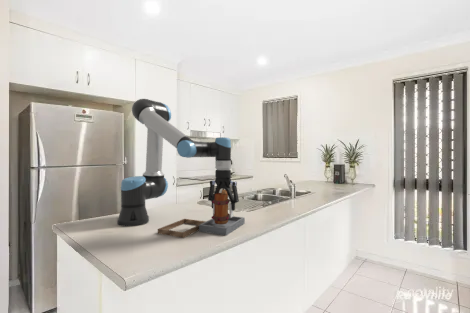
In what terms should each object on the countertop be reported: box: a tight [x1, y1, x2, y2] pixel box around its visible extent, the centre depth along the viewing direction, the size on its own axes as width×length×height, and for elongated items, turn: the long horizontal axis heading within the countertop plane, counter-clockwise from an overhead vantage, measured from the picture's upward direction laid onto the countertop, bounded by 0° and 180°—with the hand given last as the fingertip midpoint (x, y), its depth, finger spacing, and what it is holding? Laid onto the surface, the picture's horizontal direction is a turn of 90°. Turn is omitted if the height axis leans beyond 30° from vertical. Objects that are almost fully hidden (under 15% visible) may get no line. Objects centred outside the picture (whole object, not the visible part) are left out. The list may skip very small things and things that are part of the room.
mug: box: [211, 189, 231, 225], centre depth 122 cm, size 15×8×15 cm, turn 168°
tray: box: [198, 215, 246, 236], centre depth 122 cm, size 14×21×3 cm, turn 156°
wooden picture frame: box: [157, 218, 207, 239], centre depth 118 cm, size 14×20×2 cm
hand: (223, 216), depth 122 cm, fingers closed on mug, 8 cm apart
